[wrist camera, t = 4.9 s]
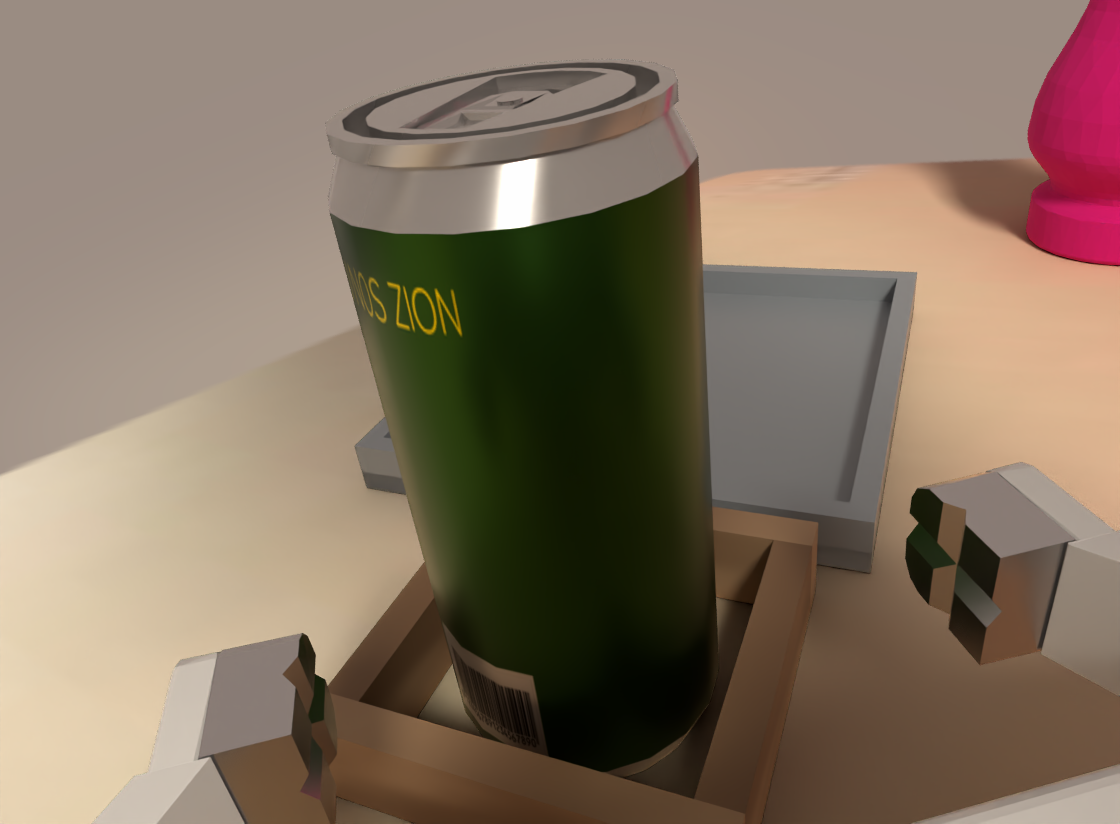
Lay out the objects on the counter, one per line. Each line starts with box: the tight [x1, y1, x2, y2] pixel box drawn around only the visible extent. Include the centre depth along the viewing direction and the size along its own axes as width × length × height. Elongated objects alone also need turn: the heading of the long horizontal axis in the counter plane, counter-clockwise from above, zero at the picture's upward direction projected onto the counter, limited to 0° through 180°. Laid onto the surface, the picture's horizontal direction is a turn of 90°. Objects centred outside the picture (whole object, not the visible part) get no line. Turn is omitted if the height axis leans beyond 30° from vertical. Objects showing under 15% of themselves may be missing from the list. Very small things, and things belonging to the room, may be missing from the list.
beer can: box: [325, 59, 719, 778], centre depth 15 cm, size 5×5×12 cm
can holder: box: [328, 507, 818, 824], centre depth 17 cm, size 8×8×2 cm
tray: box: [355, 264, 917, 573], centre depth 28 cm, size 14×14×2 cm
